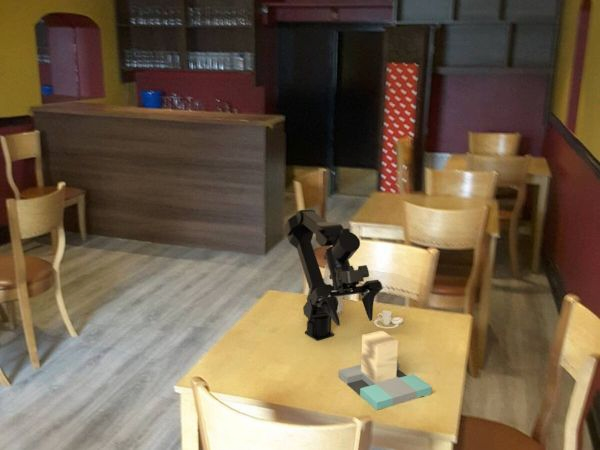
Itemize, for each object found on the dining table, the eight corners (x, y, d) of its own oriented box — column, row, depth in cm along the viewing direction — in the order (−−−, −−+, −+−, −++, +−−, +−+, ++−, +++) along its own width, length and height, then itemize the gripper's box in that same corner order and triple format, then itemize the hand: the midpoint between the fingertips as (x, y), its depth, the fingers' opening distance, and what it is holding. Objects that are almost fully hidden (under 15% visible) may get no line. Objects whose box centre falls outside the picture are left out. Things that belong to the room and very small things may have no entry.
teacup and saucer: (404, 322, 196) (405, 310, 194) (397, 332, 189) (398, 319, 187) (378, 317, 199) (378, 305, 198) (369, 326, 192) (370, 314, 191)
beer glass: (343, 315, 199) (344, 271, 195) (321, 313, 201) (322, 269, 197) (346, 307, 206) (347, 264, 202) (325, 305, 207) (326, 262, 203)
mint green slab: (359, 395, 152) (360, 388, 151) (413, 381, 159) (413, 373, 159) (376, 410, 146) (377, 402, 145) (431, 394, 153) (431, 386, 152)
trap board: (338, 377, 161) (338, 370, 160) (389, 363, 168) (390, 357, 167) (376, 410, 146) (377, 402, 145) (431, 394, 153) (431, 386, 152)
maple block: (360, 370, 160) (362, 334, 158) (380, 365, 163) (381, 330, 160) (376, 382, 154) (377, 345, 152) (396, 377, 157) (398, 340, 154)
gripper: (316, 258, 157) (331, 317, 151) (382, 251, 163) (399, 307, 157) (303, 275, 166) (318, 331, 160) (366, 268, 173) (382, 321, 167)
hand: (355, 322), depth 161 cm, fingers open, 9 cm apart
